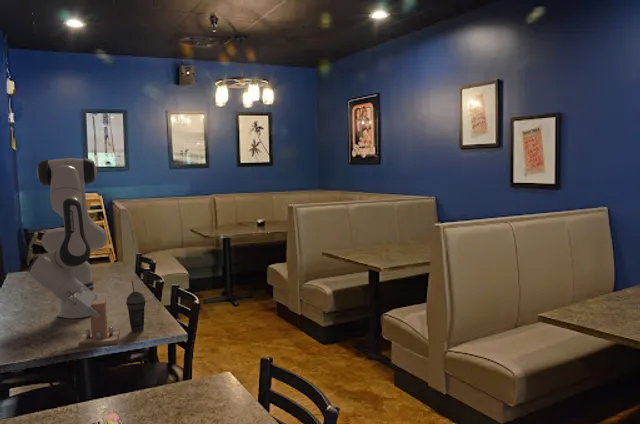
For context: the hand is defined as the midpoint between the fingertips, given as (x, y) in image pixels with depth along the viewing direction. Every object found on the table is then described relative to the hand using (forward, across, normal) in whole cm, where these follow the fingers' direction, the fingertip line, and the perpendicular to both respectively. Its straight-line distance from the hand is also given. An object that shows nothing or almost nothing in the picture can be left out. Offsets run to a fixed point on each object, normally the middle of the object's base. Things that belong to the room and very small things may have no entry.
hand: (100, 313), depth 195 cm
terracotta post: (+6, 0, +7) cm, 9 cm away
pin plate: (+7, 0, +8) cm, 10 cm away
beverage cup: (+16, +7, -1) cm, 18 cm away
